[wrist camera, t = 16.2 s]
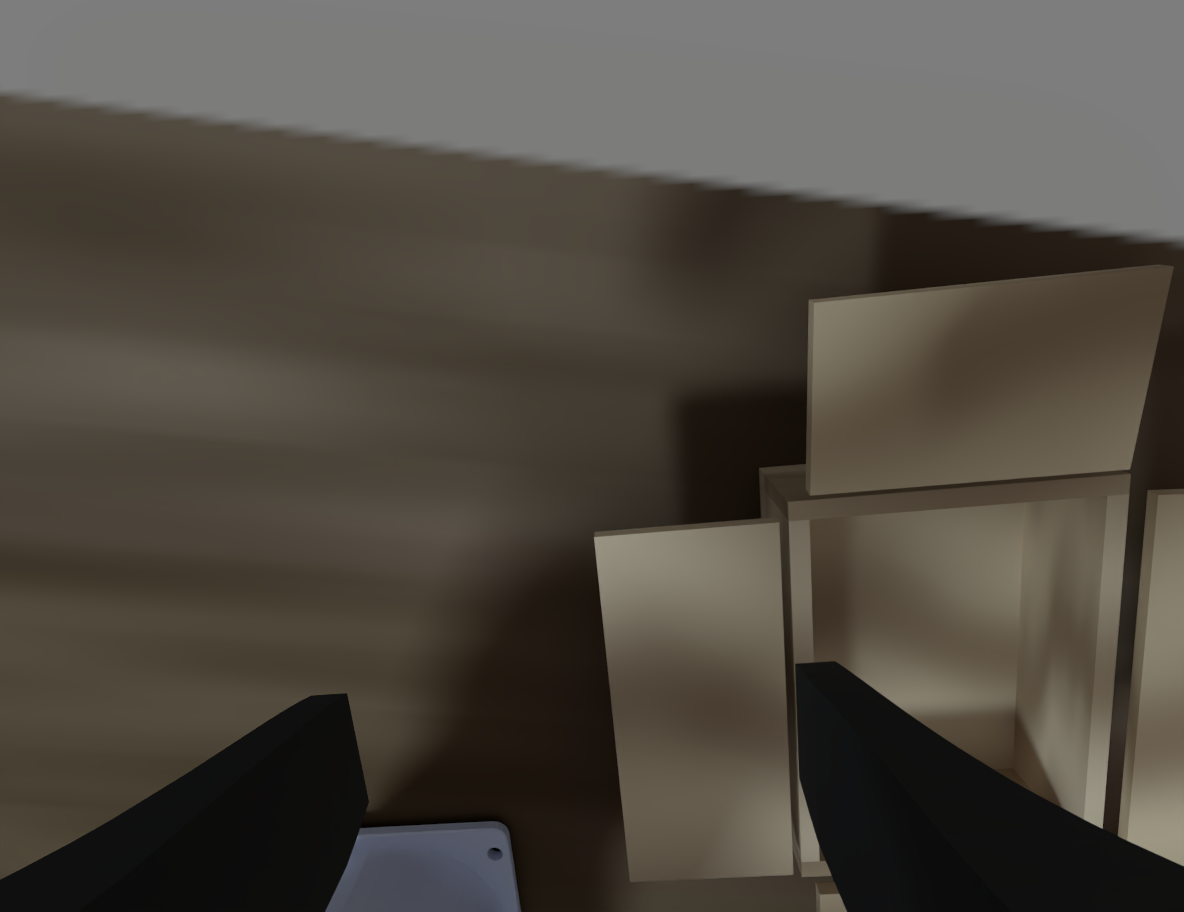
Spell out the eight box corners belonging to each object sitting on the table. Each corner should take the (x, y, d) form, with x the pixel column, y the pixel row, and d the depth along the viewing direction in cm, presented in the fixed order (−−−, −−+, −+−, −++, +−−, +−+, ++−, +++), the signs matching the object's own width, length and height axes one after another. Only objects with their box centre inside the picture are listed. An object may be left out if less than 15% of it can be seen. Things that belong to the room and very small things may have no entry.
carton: (1016, 896, 22) (1095, 1013, 19) (641, 912, 23) (645, 1028, 19) (1038, 443, 19) (1140, 477, 15) (597, 481, 20) (592, 521, 16)
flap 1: (1173, 266, 13) (1158, 264, 14) (814, 302, 14) (808, 299, 14) (1130, 469, 15) (1117, 462, 15) (810, 495, 15) (805, 488, 16)
